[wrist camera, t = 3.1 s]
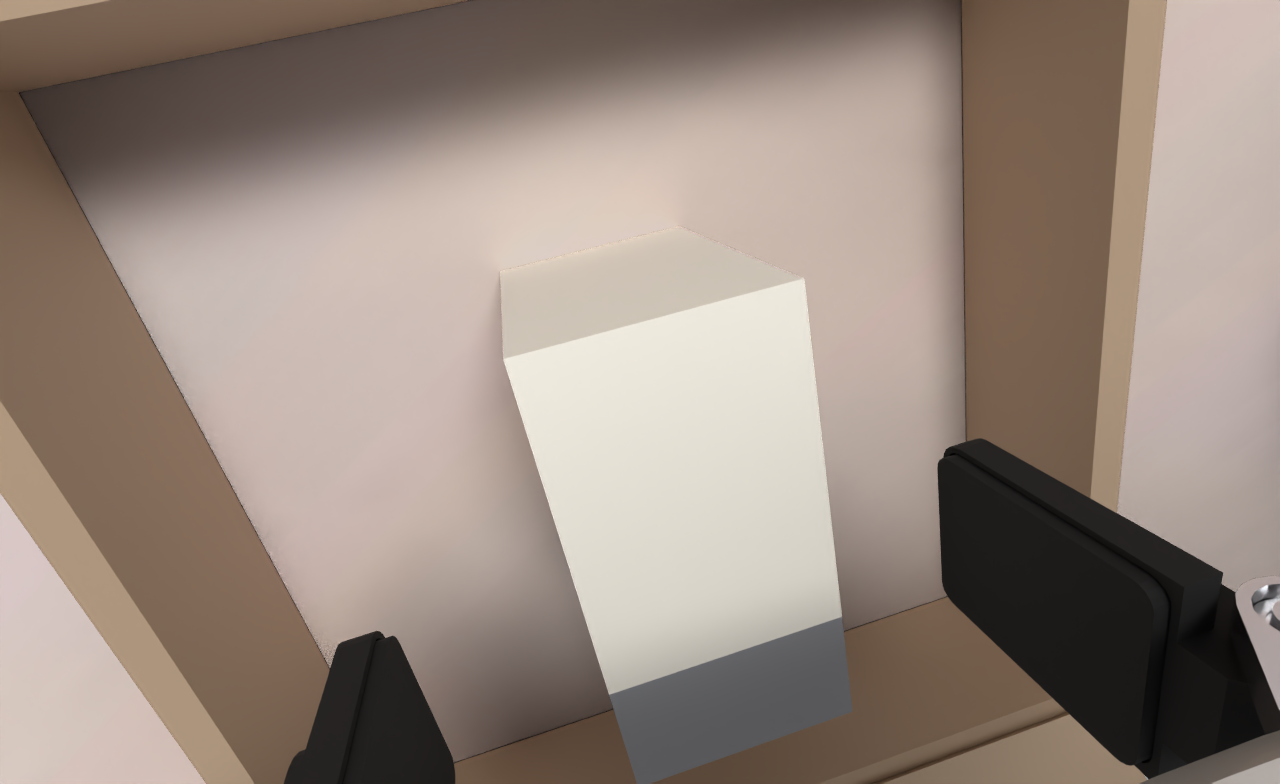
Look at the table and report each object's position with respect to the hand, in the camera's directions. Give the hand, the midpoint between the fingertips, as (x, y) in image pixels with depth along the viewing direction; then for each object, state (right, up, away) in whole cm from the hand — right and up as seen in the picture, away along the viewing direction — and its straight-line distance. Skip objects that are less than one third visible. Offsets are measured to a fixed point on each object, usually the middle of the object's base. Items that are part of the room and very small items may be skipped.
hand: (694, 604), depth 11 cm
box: (-1, +3, +7) cm, 7 cm away
